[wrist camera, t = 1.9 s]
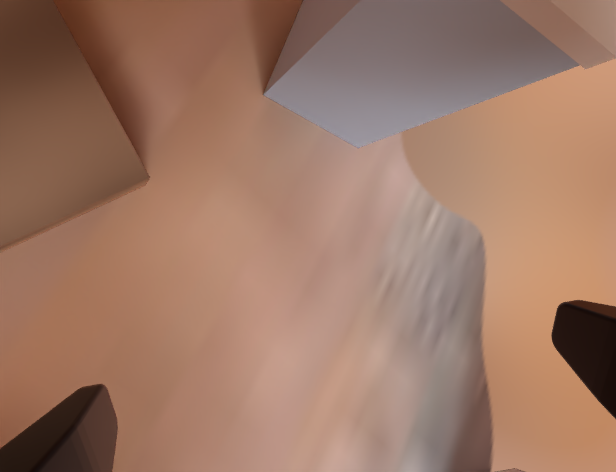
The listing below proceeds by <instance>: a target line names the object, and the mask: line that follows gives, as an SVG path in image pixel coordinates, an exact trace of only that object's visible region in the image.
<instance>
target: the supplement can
mask: <svg viewBox="0 0 616 472" xmlns="http://www.w3.org/2000/svg"><path fill="white" fill-rule="evenodd" d="M497 472H524V471H521V470H518V469H515V468H514V469H508V470H503V471H497Z"/></svg>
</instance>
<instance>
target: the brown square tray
mask: <svg viewBox="0 0 616 472" xmlns="http://www.w3.org/2000/svg"><path fill="white" fill-rule="evenodd" d="M149 178H150V176H149V175H148V173H147V171H146V169H145V167H144V165H143V164H142V162H141V160H140V158H139V156H138V155H137V153H136V151H135V149H134V147H133V145H132V144H131V142H130V140H129V138H128V136H127V134H126V133H125V131H124V129H123V127H122V125H121V124H120V122H119V120H118V118H117V116H116V114H115V113H114V111H113V109H112V107H111V105H110V103H109V102H108V100H107V98H106V96H105V94H104V93H103V91H102V89H101V87H100V85H99V83H98V82H97V80H96V78H95V76H94V74H93V73H92V71H91V69H90V67H89V65H88V63H87V62H86V60H85V58H84V56H83V54H82V52H81V51H80V49H79V47H78V45H77V43H76V42H75V40H74V38H73V36H72V34H71V32H70V31H69V29H68V27H67V25H66V23H65V21H64V20H63V18H62V16H61V14H60V12H59V11H58V9H57V7H56V5H55V3H54V1H53V0H0V252H3V251H5V250H7V249H9V248H11V247H13V246H16V245H18V244H20V243H22V242H24V241H26V240H29V239H31V238H33V237H35V236H37V235H39V234H41V233H44V232H46V231H48V230H50V229H52V228H54V227H57V226H59V225H61V224H63V223H65V222H67V221H70V220H72V219H74V218H76V217H78V216H80V215H82V214H85V213H87V212H89V211H91V210H93V209H95V208H98V207H100V206H102V205H104V204H106V203H108V202H111V201H113V200H115V199H117V198H119V197H121V196H123V195H126V194H128V193H130V192H132V191H134V190H136V189H139V188H141V187H143V186H145V185H146V184H147V182H148V180H149Z"/></svg>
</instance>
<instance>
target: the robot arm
mask: <svg viewBox="0 0 616 472" xmlns="http://www.w3.org/2000/svg"><path fill="white" fill-rule="evenodd" d="M552 342H553V344H554V346H555V348H556V349H557V351H558V352H559V353H560V355H561V356H562V357H563V358H564V359H565V361H566V362H567V363H568V364H569V366H570V367H571V368H572V369H573V370H574V372H575V373H576V374H577V375H578V377H579V378H580V379H581V380H582V382H583V383H584V384H585V385H586V387H587V388H588V389H589V390H590V391H591V393H592V394H593V395H594V396H595V397H596V398H597V400H598V401H599V402H600V403H601V404H602V405H603V406H604V407H605V408H606V409H607V410H608V411H609V412H610V414H611V415H612V416H613V417H615V419H616V307H615V306H609V305H604V304H598V303H592V302H588V301H582V300H575V301H569V302H563V303H561V304H560V305H559V306H558V308H557V312H556V316H555V321H554V326H553V330H552ZM117 430H118V426H117V418H116V414H115V411H114V408H113V405H112V402H111V399H110V396H109V393H108V390H107V388H106V386H105V385H103V384H97V385H91V386H86V387H82V388H80V389H78V390H77V391H75V392H74V393H73V394H71V395H70V396H69V397H67V398H66V399H65V400H64V401H62V402H61V403H60V404H58V405H57V406H56V407H54V408H53V409H52V410H50V411H49V412H48V413H46V414H45V415H44V416H43V417H41V418H40V419H39V420H37V421H36V422H35V423H33V424H32V425H31V426H29V427H28V428H27V429H25V430H24V431H23V432H22V433H20V434H19V435H18V436H16V437H15V438H14V439H12V440H11V441H10V442H8V443H7V444H6V445H4V446H3V447H2V448H1V449H0V472H112V469H113V461H114V454H115V446H116V439H117Z"/></svg>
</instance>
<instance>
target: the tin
mask: <svg viewBox="0 0 616 472" xmlns="http://www.w3.org/2000/svg"><path fill="white" fill-rule="evenodd" d="M615 58H616V0H303V2H302V4H301V7H300V9H299V11H298V14H297V16H296V19H295V21H294V23H293V26H292V28H291V30H290V33H289V35H288V37H287V40H286V42H285V44H284V47H283V49H282V52H281V54H280V56H279V59H278V61H277V63H276V66H275V68H274V70H273V73H272V75H271V77H270V80H269V82H268V85H267V87H266V89H265V92H264V94H263V95H264V96H266V97H268V98H269V99H271V100H273V101H275V102H277V103H278V104H280V105H282V106H284V107H286V108H287V109H289V110H291V111H293V112H294V113H296V114H298V115H300V116H302V117H303V118H305V119H307V120H309V121H311V122H312V123H314V124H316V125H318V126H319V127H321V128H323V129H325V130H327V131H328V132H330V133H332V134H334V135H336V136H337V137H339V138H341V139H343V140H345V141H346V142H348V143H350V144H352V145H353V146H355V147H357V148H360V147H362V146H365V145H368V144H370V143H373V142H376V141H378V140H381V139H384V138H386V137H389V136H392V135H395V134H397V133H400V132H403V131H405V130H408V129H410V128H413V127H416V126H419V125H421V124H424V123H426V122H429V121H432V120H435V119H437V118H440V117H443V116H445V115H448V114H451V113H453V112H456V111H459V110H461V109H464V108H467V107H469V106H472V105H475V104H478V103H480V102H483V101H485V100H488V99H491V98H494V97H496V96H499V95H502V94H504V93H507V92H510V91H512V90H515V89H518V88H520V87H523V86H526V85H528V84H531V83H534V82H536V81H539V80H542V79H544V78H547V77H550V76H552V75H555V74H558V73H560V72H563V71H566V70H569V69H571V68H574V67H576V66H579V65H581V66H582V67H583V68H585V69H587V68H590V67H593V66H596V65H599V64H601V63H604V62H607V61H610V60H612V59H615Z"/></svg>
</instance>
